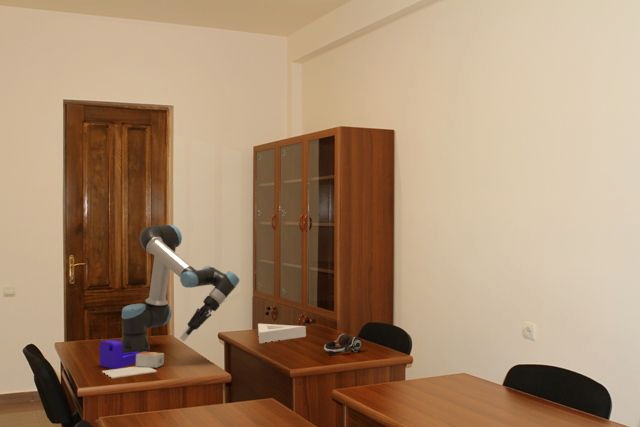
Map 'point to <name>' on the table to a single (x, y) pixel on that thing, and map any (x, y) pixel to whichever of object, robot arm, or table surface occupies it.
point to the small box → (150, 359)
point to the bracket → (115, 355)
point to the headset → (344, 344)
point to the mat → (128, 371)
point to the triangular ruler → (279, 332)
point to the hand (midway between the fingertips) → (181, 339)
